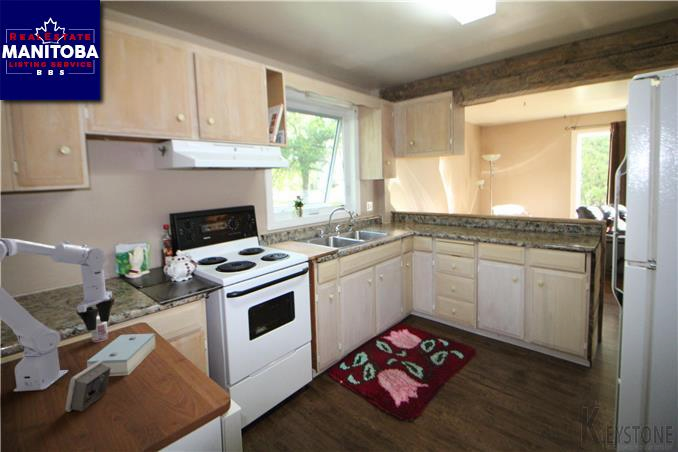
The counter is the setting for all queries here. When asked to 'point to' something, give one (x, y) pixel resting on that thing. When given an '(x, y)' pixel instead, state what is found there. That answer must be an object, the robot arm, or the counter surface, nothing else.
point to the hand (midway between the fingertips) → (98, 325)
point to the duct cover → (121, 348)
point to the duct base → (127, 367)
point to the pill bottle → (100, 331)
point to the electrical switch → (87, 386)
